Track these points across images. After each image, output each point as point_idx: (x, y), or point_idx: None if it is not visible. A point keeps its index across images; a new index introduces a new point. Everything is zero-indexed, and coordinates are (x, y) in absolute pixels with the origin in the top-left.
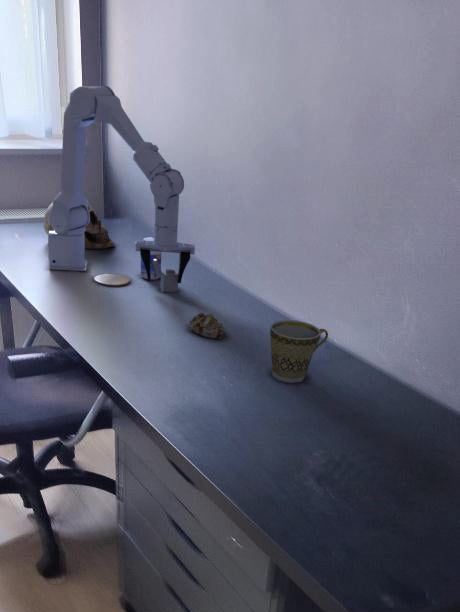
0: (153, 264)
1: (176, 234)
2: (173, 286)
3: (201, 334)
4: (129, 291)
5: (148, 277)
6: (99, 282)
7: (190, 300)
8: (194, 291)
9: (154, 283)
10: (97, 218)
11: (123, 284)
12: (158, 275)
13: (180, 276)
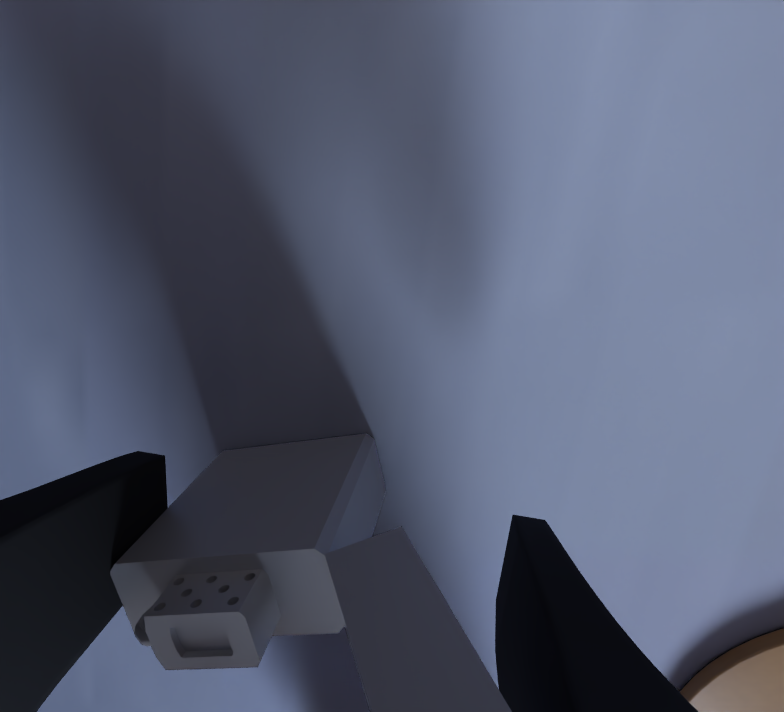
0: (492, 694)
1: None
2: (240, 473)
3: None
4: (755, 460)
5: (552, 546)
6: None
7: (96, 178)
8: (65, 451)
9: None
10: None
11: (774, 640)
12: (399, 539)
13: (77, 481)
